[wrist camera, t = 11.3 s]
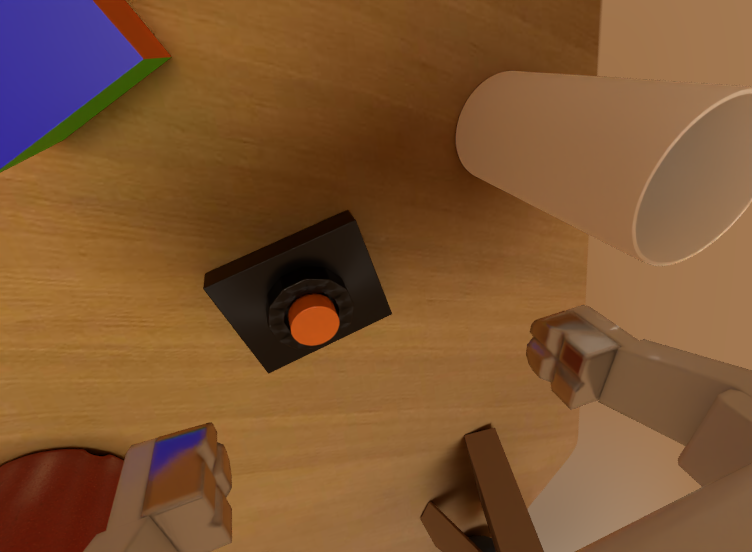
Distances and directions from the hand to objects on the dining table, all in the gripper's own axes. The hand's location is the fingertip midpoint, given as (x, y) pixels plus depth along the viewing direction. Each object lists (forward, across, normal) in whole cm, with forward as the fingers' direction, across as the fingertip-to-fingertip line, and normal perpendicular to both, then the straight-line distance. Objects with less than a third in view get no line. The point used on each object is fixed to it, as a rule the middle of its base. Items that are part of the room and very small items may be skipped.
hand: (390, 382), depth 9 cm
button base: (+21, 0, +10) cm, 23 cm away
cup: (+21, -18, 0) cm, 27 cm away
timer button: (+17, 0, +10) cm, 20 cm away
